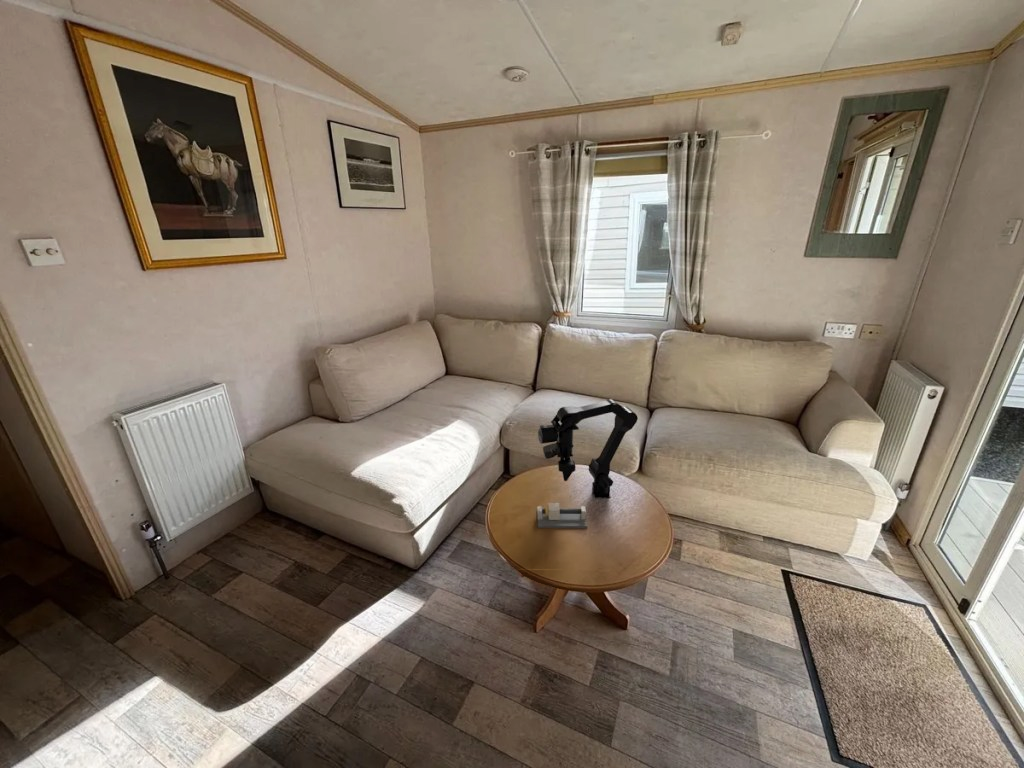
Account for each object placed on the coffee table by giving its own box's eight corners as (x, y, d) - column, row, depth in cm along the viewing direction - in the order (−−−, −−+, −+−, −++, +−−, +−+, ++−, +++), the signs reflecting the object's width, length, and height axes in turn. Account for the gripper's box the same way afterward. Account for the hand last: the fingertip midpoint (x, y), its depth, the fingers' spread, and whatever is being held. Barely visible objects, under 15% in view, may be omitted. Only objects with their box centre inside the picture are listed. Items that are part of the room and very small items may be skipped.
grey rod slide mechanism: (583, 510, 156) (583, 499, 154) (586, 528, 146) (587, 516, 145) (537, 510, 156) (537, 499, 155) (538, 527, 147) (538, 516, 145)
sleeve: (558, 512, 153) (558, 502, 151) (559, 519, 149) (559, 510, 147) (548, 512, 153) (548, 502, 152) (548, 519, 149) (548, 510, 147)
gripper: (543, 428, 162) (543, 461, 167) (545, 452, 144) (545, 488, 150) (570, 428, 161) (569, 461, 167) (576, 452, 144) (574, 488, 149)
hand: (564, 474), depth 158 cm, fingers open, 9 cm apart
